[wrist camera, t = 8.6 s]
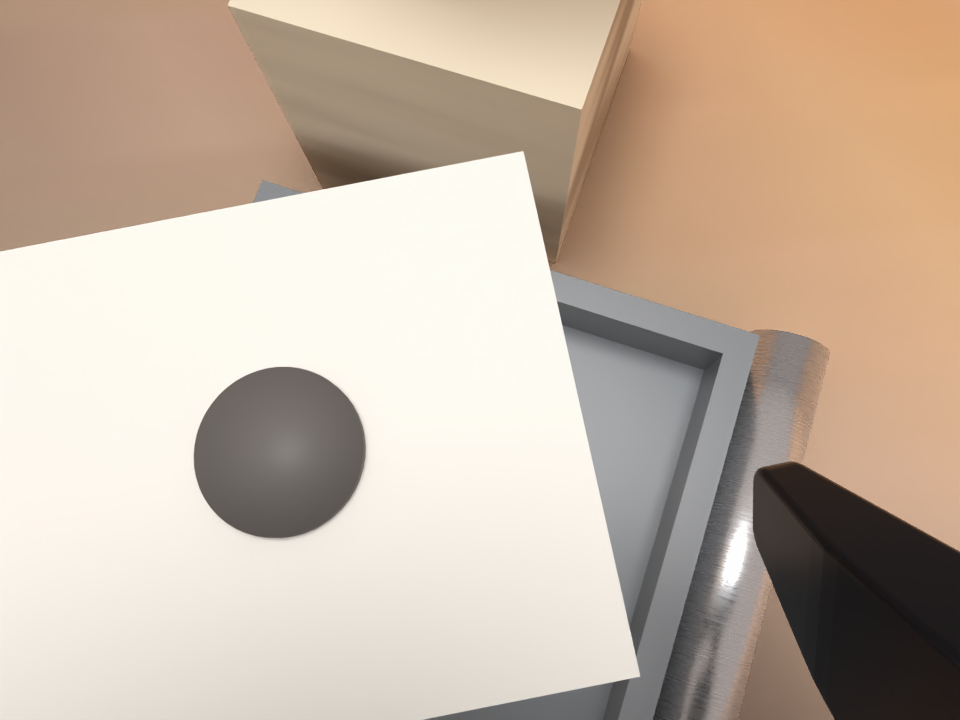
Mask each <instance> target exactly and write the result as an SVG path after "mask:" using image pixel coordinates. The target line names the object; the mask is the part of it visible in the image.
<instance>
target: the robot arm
mask: <svg viewBox="0 0 960 720" xmlns="http://www.w3.org/2000/svg"><path fill="white" fill-rule="evenodd" d="M753 533H754V538H755V542H756V545H757V548H758V550H759V553H760V555H761V558H762V560H763V562H764V565H765V567H766V569H767V572H768V574H769V577H770V579H771V581H772V584H773V586H774V588H775V591H776V593H777V596H778V598H779V600H780V603H781V605H782V608H783V610H784V612H785V615H786V617H787V619H788V622H789V624H790V627H791V629H792V631H793V634H794V636H795V638H796V641H797V643H798V646H799V648H800V650H801V653H802V655H803V657H804V660H805V662H806V664H807V666H808V669H809V671H810V673H811V675H812V678H813V680H814V682H815V684H816V686H817V688H818V689H819V691H820V693H821V695H822V697H823V699H824V701H825V703H826V705H827V706H828V708H829V710H830V712H831V714H832V715H833V717H834V719H835V720H960V551H958V550H956V549H954V548H952V547H951V546H949V545H947V544H945V543H943V542H942V541H940V540H938V539H936V538H934V537H932V536H931V535H929V534H927V533H925V532H923V531H922V530H920V529H918V528H916V527H914V526H913V525H911V524H909V523H907V522H905V521H904V520H902V519H900V518H898V517H896V516H895V515H893V514H891V513H889V512H887V511H885V510H884V509H882V508H880V507H878V506H876V505H875V504H873V503H871V502H869V501H867V500H866V499H864V498H862V497H860V496H858V495H857V494H855V493H853V492H851V491H849V490H847V489H846V488H844V487H842V486H840V485H838V484H837V483H835V482H833V481H831V480H829V479H828V478H826V477H824V476H822V475H820V474H819V473H817V472H815V471H813V470H811V469H810V468H808V467H806V466H804V465H802V464H800V463H797V462H794V461H788V462H783V463H779V464H774V465H769V466H764V467H761V468H759V469H758V470H757V471H756V472H755V474H754V478H753Z"/></svg>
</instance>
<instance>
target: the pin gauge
mask: <svg viewBox="0 0 960 720" xmlns="http://www.w3.org/2000/svg"><path fill="white" fill-rule="evenodd" d="M751 333H754V334H757V335H760V336H759V340H758V344H757V347H756V351H755V354H754V358H753V361H752V365H751V369H750V372H749V376H748V379H747V383H746V387H745V390H744V394H743V397H742V401H741V405H740V408H739V412H738V415H737V419H736V423H735V426H734V430H733V433H732V437H731V440H730V444H729V448H728V451H727V455H726V458H725V462H724V466H723V469H722V473H721V476H720V480H719V484H718V487H717V491H716V494H715V498H714V502H713V505H712V509H711V512H710V516H709V520H708V523H707V527H706V530H705V534H704V537H703V541H702V545H701V548H700V552H699V555H698V559H697V563H696V566H695V570H694V573H693V577H692V581H691V584H690V588H689V591H688V595H687V599H686V602H685V606H684V609H683V613H682V616H681V620H680V624H679V627H678V631H677V634H676V638H675V642H674V645H673V649H672V652H671V656H670V660H669V663H668V667H667V670H666V674H665V678H664V681H663V685H662V688H661V692H660V696H659V699H658V703H657V706H656V710H655V713H654V717H653V720H738V717H739V713H740V709H741V705H742V701H743V697H744V693H745V689H746V686H747V682H748V678H749V674H750V670H751V666H752V662H753V658H754V654H755V650H756V646H757V642H758V638H759V634H760V630H761V626H762V622H763V618H764V614H765V610H766V606H767V602H768V598H769V594H770V590H771V586H772V581H771V579H770V577H769V574H768V572H767V569H766V567H765V565H764V562H763V560H762V558H761V555H760V553H759V550H758V548H757V545H756V542H755V538H754V533H753V478H754V474H755V472H756V471H757V470H758V469H759V468H761V467H764V466H769V465H774V464H779V463H783V462H788V461H794V462H797V463H800V464H802V463H803V459H804V455H805V451H806V447H807V443H808V440H809V436H810V432H811V428H812V424H813V420H814V416H815V412H816V408H817V404H818V400H819V396H820V392H821V388H822V384H823V380H824V376H825V372H826V368H827V364H828V360H829V356H830V352H829V350H828V349H827V348H826V347H825V346H823V345H822V344H820V343H819V342H817V341H815V340H812V339H810V338H807V337H804V336H801V335H798V334H794V333H789V332H784V331H778V330H755V331H751Z"/></svg>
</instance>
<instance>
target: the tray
mask: <svg viewBox="0 0 960 720" xmlns="http://www.w3.org/2000/svg"><path fill="white" fill-rule="evenodd" d="M297 194H303V193H302V192H299V191H295V190H292V189H289V188H286V187H283V186H279V185H276V184H273V183H270V182H267V181H262V183H261V185H260V188H259V190H258V192H257V195H256V197H255V199H254V202H253V203H256V202H261V201H266V200H271V199H277V198H282V197H287V196H292V195H297ZM550 273H551V277H552V282H553V286H554V291H555V295H556V300H557V304H558V309H559V313H560V318H561V322H562V327H563V331H564V336H565V340H566V345H567V349H568V354H569V358H570V363H571V367H572V372H573V376H574V381H575V385H576V390H577V394H578V399H579V403H580V408H581V412H582V416H583V421H584V425H585V430H586V434H587V439H588V443H589V448H590V452H591V457H592V461H593V466H594V470H595V475H596V479H597V484H598V488H599V493H600V497H601V502H602V506H603V511H604V515H605V520H606V524H607V529H608V533H609V538H610V542H611V547H612V551H613V556H614V560H615V565H616V569H617V574H618V578H619V583H620V587H621V592H622V596H623V601H624V605H625V610H626V614H627V619H628V623H629V628H630V632H631V637H632V641H633V646H634V650H635V655H636V659H637V663H638V668H639V672H640V677H636V678H631V679H626V680H621V681H616V682H611V683H605V684H600V685H595V686H590V687H585V688H580V689H575V690H570V691H565V692H560V693H555V694H550V695H545V696H540V697H535V698H530V699H525V700H520V701H515V702H510V703H504V704H499V705H494V706H489V707H484V708H479V709H474V710H469V711H464V712H459V713H454V714H449V715H444V716H439V717H434V718H429V719H424V720H653V717H654V713H655V710H656V706H657V703H658V699H659V696H660V692H661V688H662V685H663V681H664V678H665V674H666V670H667V667H668V663H669V660H670V656H671V652H672V649H673V645H674V642H675V638H676V634H677V631H678V627H679V624H680V620H681V616H682V613H683V609H684V606H685V602H686V599H687V595H688V591H689V588H690V584H691V581H692V577H693V573H694V570H695V566H696V563H697V559H698V555H699V552H700V548H701V545H702V541H703V537H704V534H705V530H706V527H707V523H708V520H709V516H710V512H711V509H712V505H713V502H714V498H715V494H716V491H717V487H718V484H719V480H720V476H721V473H722V469H723V466H724V462H725V458H726V455H727V451H728V448H729V444H730V440H731V437H732V433H733V430H734V426H735V423H736V419H737V415H738V412H739V408H740V405H741V401H742V397H743V394H744V390H745V387H746V383H747V379H748V376H749V372H750V369H751V365H752V361H753V358H754V354H755V351H756V347H757V344H758V340H759V336H760V335H757V334H754V333H751V332H747V331H744V330H741V329H738V328H735V327H731V326H728V325H725V324H722V323H718V322H715V321H712V320H709V319H706V318H702V317H699V316H696V315H693V314H690V313H686V312H683V311H680V310H677V309H674V308H670V307H667V306H664V305H661V304H658V303H654V302H651V301H648V300H645V299H642V298H638V297H635V296H632V295H629V294H626V293H622V292H619V291H616V290H613V289H610V288H606V287H603V286H600V285H597V284H594V283H590V282H587V281H584V280H581V279H577V278H574V277H571V276H568V275H565V274H561V273H558V272H555V271H552V270H550Z"/></svg>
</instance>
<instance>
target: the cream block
mask: <svg viewBox="0 0 960 720" xmlns="http://www.w3.org/2000/svg"><path fill="white" fill-rule="evenodd" d="M636 677H640V672H639V668H638V663H637V659H636V655H635V650H634V646H633V641H632V637H631V632H630V628H629V623H628V619H627V614H626V610H625V605H624V601H623V596H622V592H621V587H620V583H619V578H618V574H617V569H616V565H615V560H614V556H613V551H612V547H611V542H610V538H609V533H608V529H607V524H606V520H605V515H604V511H603V506H602V502H601V497H600V493H599V488H598V484H597V479H596V475H595V470H594V466H593V461H592V457H591V452H590V448H589V443H588V439H587V434H586V430H585V425H584V421H583V416H582V412H581V408H580V403H579V399H578V394H577V390H576V385H575V381H574V376H573V372H572V367H571V363H570V358H569V354H568V349H567V345H566V340H565V336H564V331H563V327H562V322H561V318H560V313H559V309H558V304H557V300H556V295H555V291H554V286H553V282H552V277H551V273H550V268H549V264H548V259H547V255H546V250H545V246H544V241H543V237H542V232H541V228H540V223H539V219H538V214H537V210H536V205H535V201H534V196H533V192H532V187H531V183H530V178H529V174H528V169H527V165H526V161H525V156H524V152H523V151H521V152H516V153H510V154H505V155H500V156H495V157H490V158H484V159H479V160H474V161H469V162H464V163H458V164H453V165H448V166H443V167H438V168H432V169H427V170H422V171H417V172H412V173H406V174H401V175H396V176H391V177H386V178H380V179H375V180H370V181H365V182H360V183H355V184H349V185H344V186H339V187H334V188H329V189H323V190H318V191H313V192H308V193H303V194H297V195H292V196H287V197H282V198H277V199H271V200H266V201H261V202H256V203H251V204H245V205H240V206H235V207H230V208H225V209H219V210H214V211H209V212H204V213H199V214H193V215H188V216H183V217H178V218H173V219H168V220H162V221H157V222H152V223H147V224H142V225H136V226H131V227H126V228H121V229H116V230H110V231H105V232H100V233H95V234H90V235H84V236H79V237H74V238H69V239H64V240H58V241H53V242H48V243H43V244H38V245H32V246H27V247H22V248H17V249H12V250H6V251H1V252H0V720H424V719H429V718H434V717H439V716H444V715H449V714H454V713H459V712H464V711H469V710H474V709H479V708H484V707H489V706H494V705H499V704H504V703H510V702H515V701H520V700H525V699H530V698H535V697H540V696H545V695H550V694H555V693H560V692H565V691H570V690H575V689H580V688H585V687H590V686H595V685H600V684H605V683H611V682H616V681H621V680H626V679H631V678H636Z"/></svg>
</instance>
